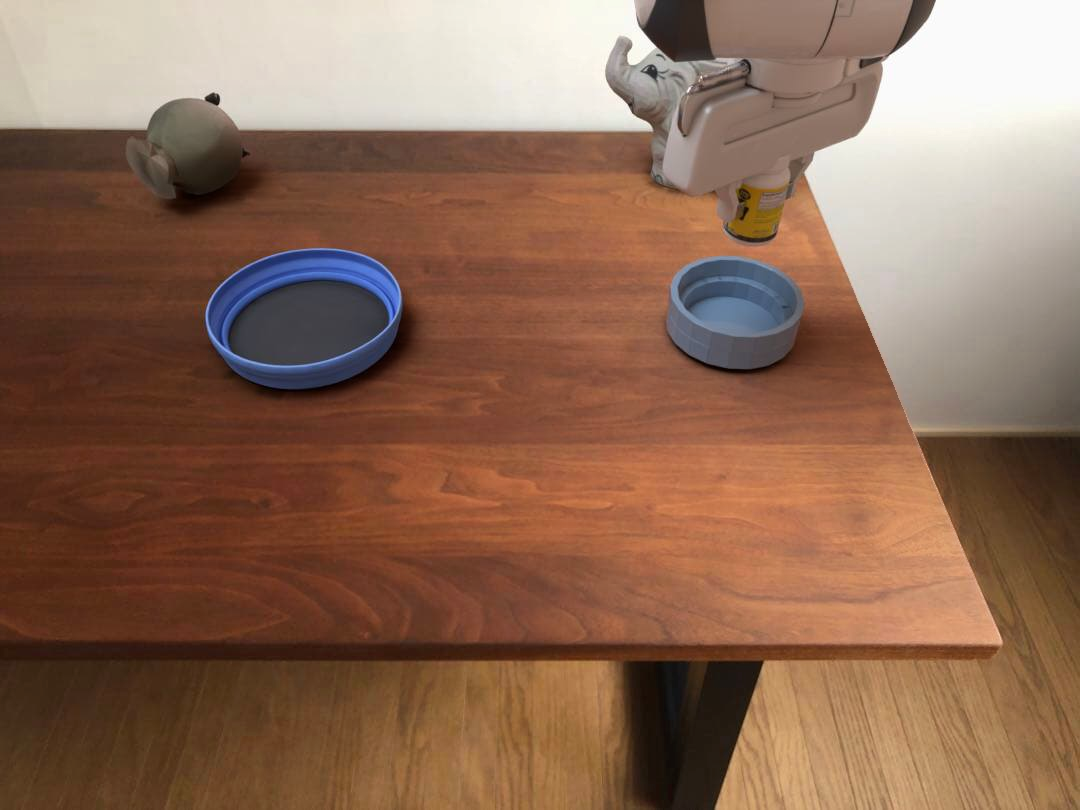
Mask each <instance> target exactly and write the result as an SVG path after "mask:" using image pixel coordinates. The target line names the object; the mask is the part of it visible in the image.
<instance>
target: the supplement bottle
mask: <svg viewBox="0 0 1080 810" xmlns="http://www.w3.org/2000/svg"><path fill="white" fill-rule="evenodd" d="M789 163H790V161H789V155H786V156H783V157H781V158H779V159H778V160H777V162H776V163H775V165H774V166H773V167H772V168H771V169H769V170H766V171H763V172H761V173H758V174H755V175H753V176H750V177H748V178H745V179H743V180H742V184H741V187H740V188H739V189H735V191H736V194H737V197H739V198H742V199H743V200H745V201H746V205H745V209H744V210H743V212H744V214H743V216H742V217H741V218H739V219H737V220H734V221H732V222H729V223H727V222H725V221H724V220H723V223H722V230H723V233H724V235H725V236H726V238H728V239H729V240H730V241H732V242H733V243H736V244H737V245H741V246H743V247H744V246H745V247H756V248H757V247H762V246H766V245H768V244H770V243H772V242H773V241H774V240H775V239H776V238H777V235H778V230H779V227H780V223H781V218H782V214H783V210H784V206H785V201H786V200H785V198H786V194H787V190H788V185H789V181H790V170H789V168H788V166H789Z"/></svg>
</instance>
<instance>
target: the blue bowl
mask: <svg viewBox="0 0 1080 810" xmlns="http://www.w3.org/2000/svg"><path fill="white" fill-rule="evenodd" d="M669 285H670V286H669V292H668V300H667V304H666V305H667V306H666V312H665V323H666V324H665V325H666V331H667V333H668V334H669V336H670V338H671V339H672V341H673V343H674V344H675V345H676V346H677V347H678V348H679V349H680V350H682V351H683V352H685V354H687V355H688V356H690V357H692V358H694V359H696V360H699V361H700V362H703V363H705V364H708V365H712V366H715V367H719V368H725V369H729V370H731V369H732V370H752V369H759V368H764V367H768V366H770V365H772V364H774V363H776V362H778V361H780V360H782V359H784V358H785V357H786V356H787V355H788V353H789V352H791V350H792V349H793V348H794V346H795V343H796V339H797V335H798V332H799V327H800V324H801V321H802V317H803V315H804V314H803V313H804V310H805V306H806V302H805V298H804V294H803V291H802V289H801V288H800V286H799V285H798V284H797V283H796V282H795V280H794V279H793V278H792V277H791V276H789V275H788V274H786V273H785V272H783V271H782V270H781V269H779V268H777V267H776V266H773V265H770V264H769V263H766V262H763V261H761V260H758V259H753V258H748V257H743V256H739V255H716V256H715V255H714V256H709V257H704V258H700V259H697V260H695V261H692V262H690V263H687V264H686V265H684V266H682V268H681V269H680V270H678V271H677V272H676V273H675V274H674V275H673V278H672V281H671V283H670V284H669Z"/></svg>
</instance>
